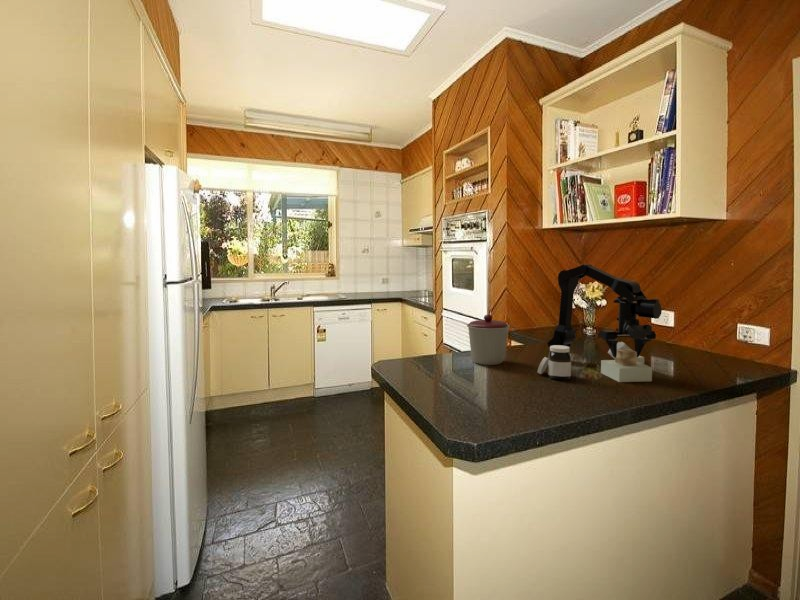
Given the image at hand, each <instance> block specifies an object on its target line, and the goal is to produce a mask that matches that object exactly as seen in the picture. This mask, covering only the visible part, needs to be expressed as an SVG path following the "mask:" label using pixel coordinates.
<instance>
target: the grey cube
mask: <svg viewBox="0 0 800 600" xmlns="http://www.w3.org/2000/svg"><path fill="white" fill-rule="evenodd" d="M637 362H639V363H642V364H644V365H645V357H644V356H641V355H639V357H637Z"/></svg>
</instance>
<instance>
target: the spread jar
mask: <svg viewBox="0 0 800 600" xmlns="http://www.w3.org/2000/svg"><path fill="white" fill-rule="evenodd" d="M546 369H547V375H548V377H549V378H550V379H552V380H557V381H568V380H569V379H571V377H572V376H571V375H572V357H571V353H570V347H568V346H562V345H552V346H550V348H549V353H548V357H546V356H544V357H543V358H542V359H541V361H540V363H539V365H538V368H537V373H538V374H539V375H543V374H544V372H545V371H546Z"/></svg>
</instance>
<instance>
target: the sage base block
mask: <svg viewBox="0 0 800 600" xmlns="http://www.w3.org/2000/svg"><path fill="white" fill-rule="evenodd" d="M600 373H601V374H602V375H603V376H606V377H608V378H610V379H612V380H614V381H615V382H618V383H633V382H635V383H637V382H638V383H639V382H652V381H653V367H652V366H649V365H647V364H645V363H644V364H642V363H639V362H637V363H636V365H631V366H623V365H620V364H618V363H616V362H615V359H603V360H600Z"/></svg>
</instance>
